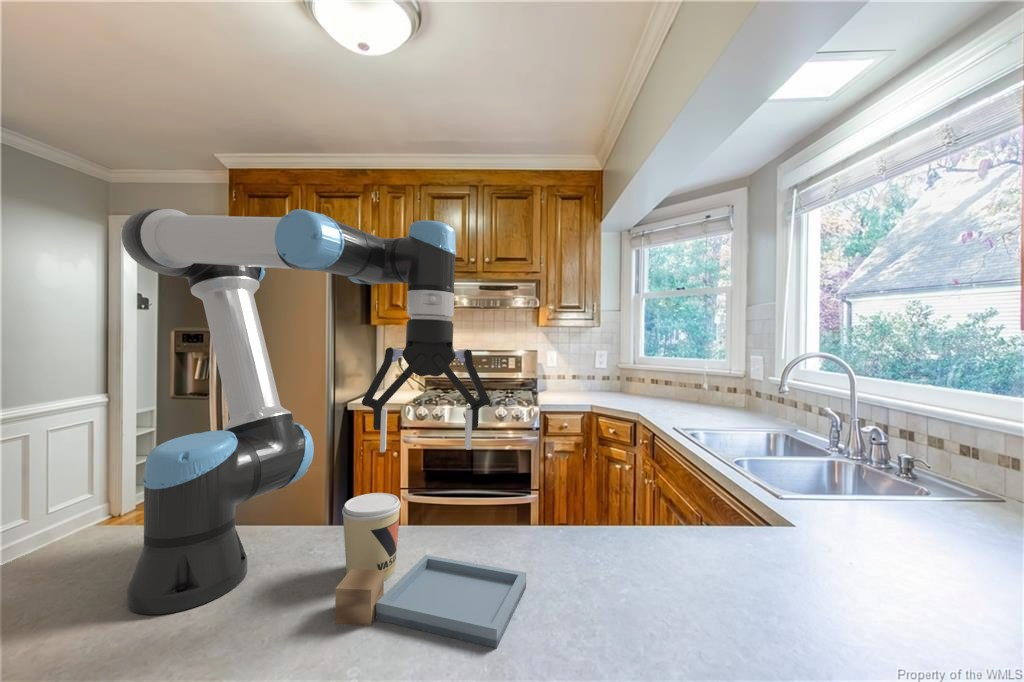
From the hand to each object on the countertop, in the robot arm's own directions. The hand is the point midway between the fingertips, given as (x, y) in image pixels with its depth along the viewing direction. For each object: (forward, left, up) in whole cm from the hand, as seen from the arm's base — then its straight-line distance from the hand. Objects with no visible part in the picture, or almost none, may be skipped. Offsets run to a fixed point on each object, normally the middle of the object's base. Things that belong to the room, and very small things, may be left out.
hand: (426, 449), depth 69 cm
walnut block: (-5, -10, -22) cm, 24 cm away
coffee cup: (-10, -1, -22) cm, 24 cm away
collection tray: (+7, -4, -22) cm, 23 cm away
